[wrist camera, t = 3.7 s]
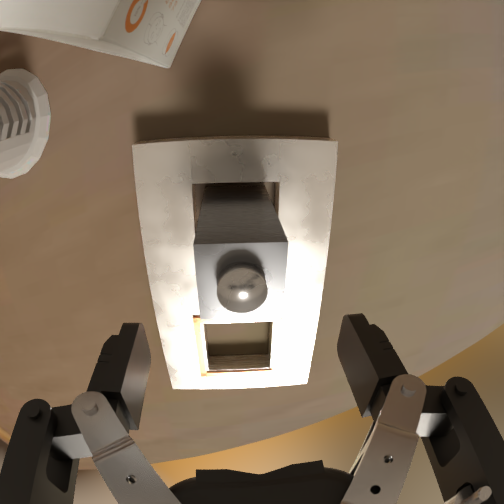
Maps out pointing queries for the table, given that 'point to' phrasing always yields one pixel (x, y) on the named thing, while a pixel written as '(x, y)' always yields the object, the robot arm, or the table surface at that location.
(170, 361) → the rail plate
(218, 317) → the block with round knob
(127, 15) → the small box
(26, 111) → the french press
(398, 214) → the table surface
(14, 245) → the table surface
